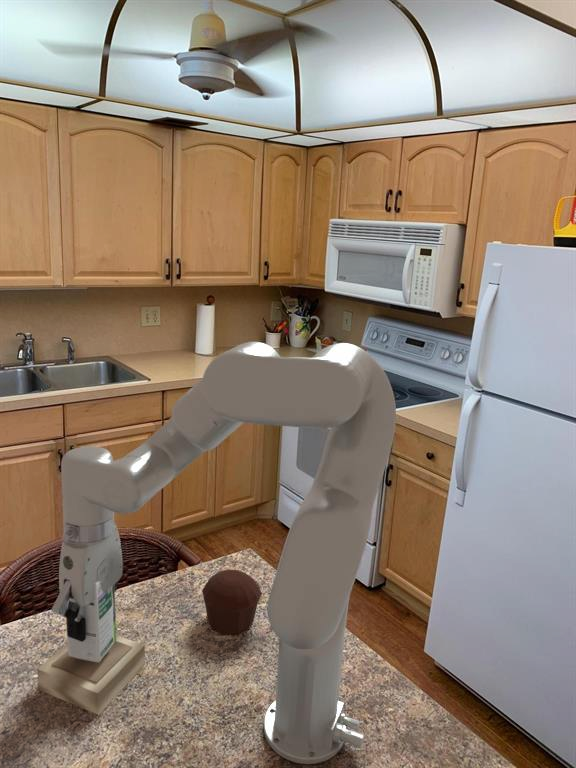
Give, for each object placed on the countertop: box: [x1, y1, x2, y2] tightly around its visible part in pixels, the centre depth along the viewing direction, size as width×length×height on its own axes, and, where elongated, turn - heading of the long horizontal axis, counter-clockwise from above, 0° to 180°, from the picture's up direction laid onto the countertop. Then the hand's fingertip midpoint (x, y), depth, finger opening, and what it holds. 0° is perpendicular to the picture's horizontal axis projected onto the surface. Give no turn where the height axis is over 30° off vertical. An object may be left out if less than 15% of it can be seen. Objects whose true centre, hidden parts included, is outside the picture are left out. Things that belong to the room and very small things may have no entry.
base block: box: [37, 634, 146, 716], centre depth 96 cm, size 12×12×4 cm
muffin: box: [201, 569, 263, 637], centre depth 111 cm, size 12×11×10 cm
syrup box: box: [65, 581, 117, 663], centre depth 93 cm, size 6×6×14 cm
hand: (91, 624), depth 94 cm, fingers closed on syrup box, 6 cm apart
